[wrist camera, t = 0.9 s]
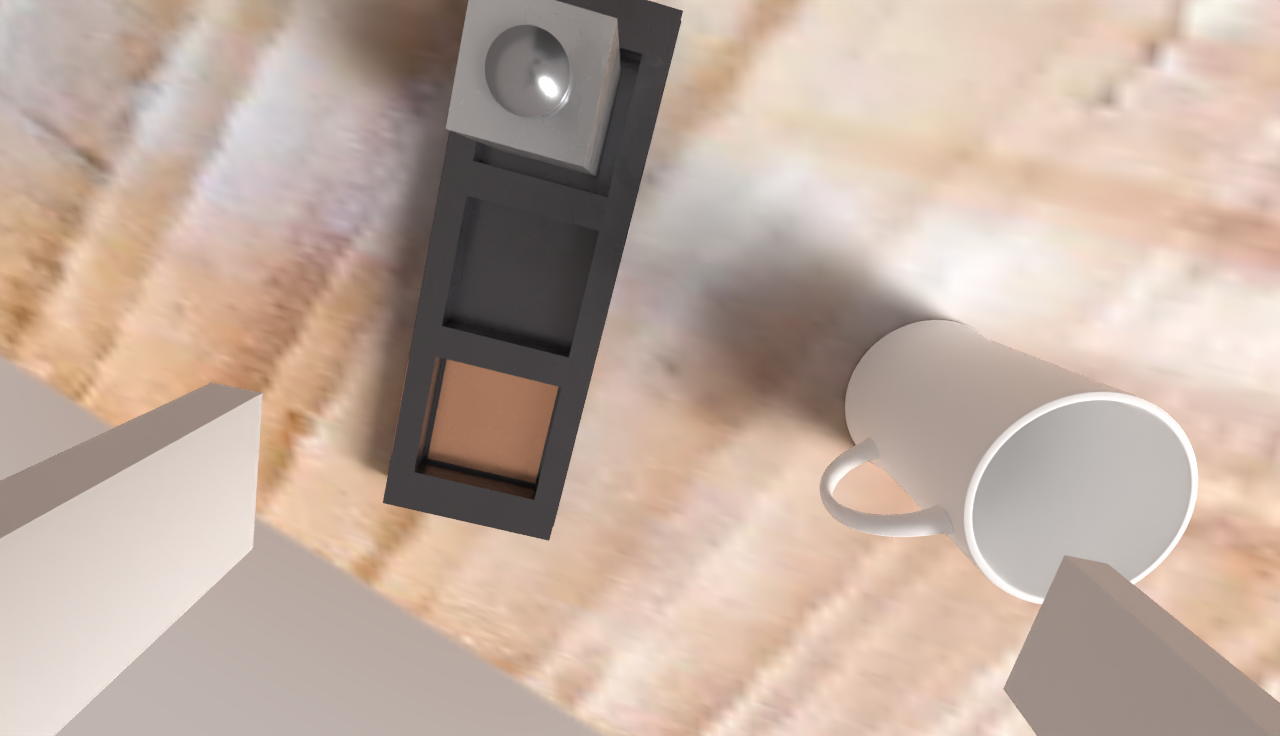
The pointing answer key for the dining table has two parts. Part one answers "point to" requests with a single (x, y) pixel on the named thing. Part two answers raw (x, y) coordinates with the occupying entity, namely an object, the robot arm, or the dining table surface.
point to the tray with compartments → (521, 305)
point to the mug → (1014, 458)
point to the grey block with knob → (537, 80)
